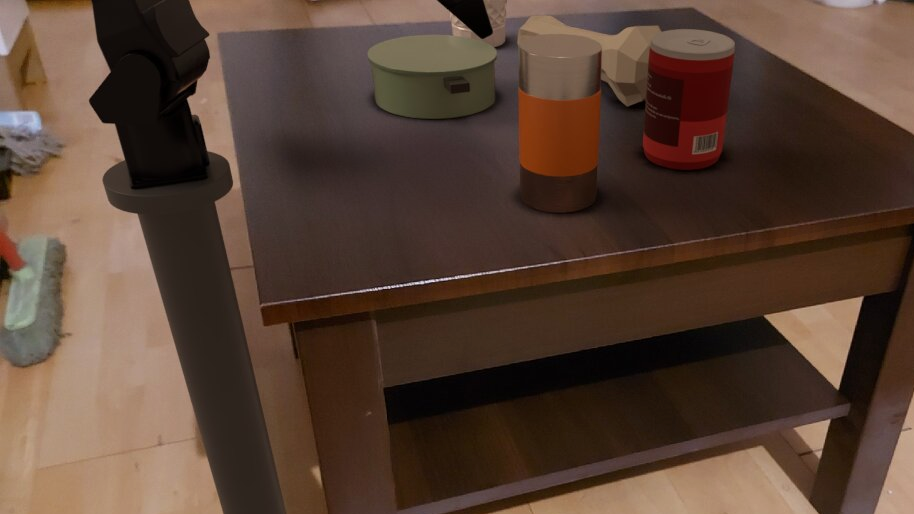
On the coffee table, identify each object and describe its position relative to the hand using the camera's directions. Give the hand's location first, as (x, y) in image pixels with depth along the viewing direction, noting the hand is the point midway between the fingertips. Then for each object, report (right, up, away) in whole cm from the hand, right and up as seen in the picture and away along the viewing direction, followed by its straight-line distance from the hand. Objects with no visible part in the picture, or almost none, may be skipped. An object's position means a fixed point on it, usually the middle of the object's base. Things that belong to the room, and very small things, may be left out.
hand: (483, 27), depth 73 cm
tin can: (+6, -14, +3) cm, 15 cm away
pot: (-8, 0, +23) cm, 24 cm away
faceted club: (+9, +4, +30) cm, 32 cm away
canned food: (+18, -8, +12) cm, 23 cm away
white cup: (-6, +13, +41) cm, 44 cm away
